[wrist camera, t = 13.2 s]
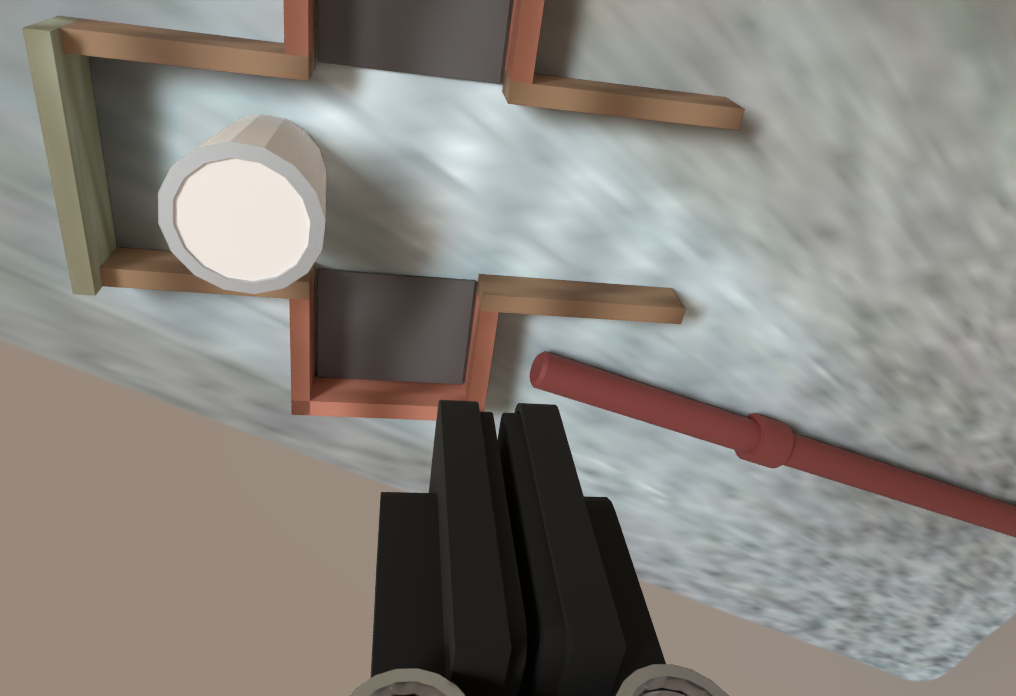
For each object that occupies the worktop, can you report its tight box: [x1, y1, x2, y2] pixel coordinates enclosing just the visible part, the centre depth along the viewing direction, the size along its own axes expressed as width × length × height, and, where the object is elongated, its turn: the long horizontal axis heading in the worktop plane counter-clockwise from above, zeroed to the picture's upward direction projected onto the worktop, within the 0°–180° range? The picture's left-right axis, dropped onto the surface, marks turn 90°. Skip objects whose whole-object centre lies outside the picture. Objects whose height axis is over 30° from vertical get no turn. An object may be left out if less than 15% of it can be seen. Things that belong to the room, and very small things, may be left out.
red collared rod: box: [530, 351, 1016, 537], centre depth 50 cm, size 45×3×3 cm, turn 65°
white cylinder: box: [158, 114, 326, 294], centre depth 34 cm, size 7×7×7 cm
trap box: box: [23, 0, 745, 420], centre depth 36 cm, size 32×27×4 cm
